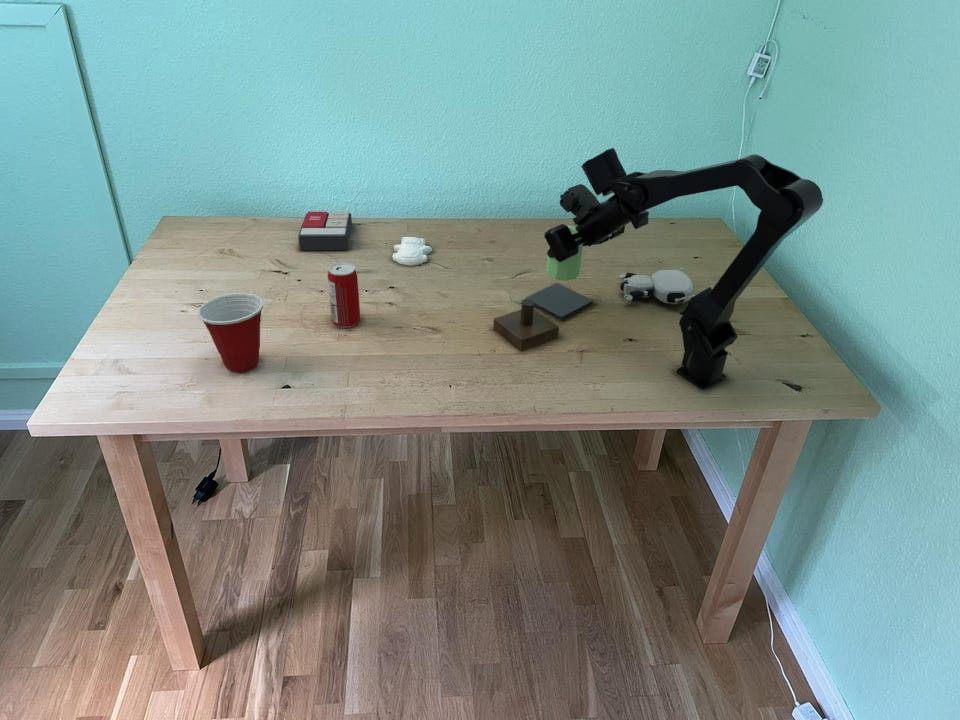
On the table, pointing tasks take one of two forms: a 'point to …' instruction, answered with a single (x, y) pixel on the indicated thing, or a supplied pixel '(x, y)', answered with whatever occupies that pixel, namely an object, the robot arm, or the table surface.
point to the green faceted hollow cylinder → (565, 264)
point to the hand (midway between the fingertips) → (559, 250)
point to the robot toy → (658, 286)
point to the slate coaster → (560, 301)
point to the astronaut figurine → (411, 251)
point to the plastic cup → (234, 328)
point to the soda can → (344, 295)
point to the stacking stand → (526, 327)
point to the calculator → (325, 231)
